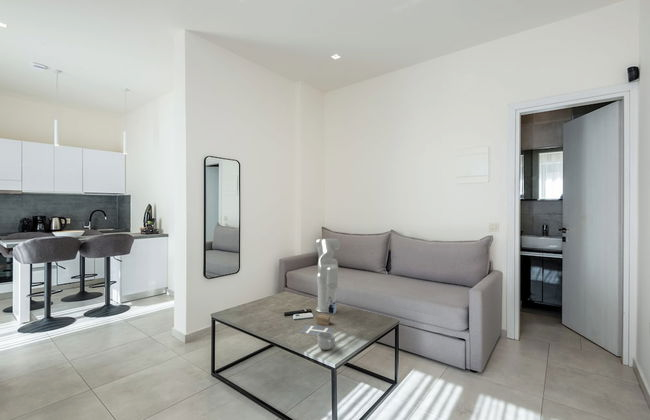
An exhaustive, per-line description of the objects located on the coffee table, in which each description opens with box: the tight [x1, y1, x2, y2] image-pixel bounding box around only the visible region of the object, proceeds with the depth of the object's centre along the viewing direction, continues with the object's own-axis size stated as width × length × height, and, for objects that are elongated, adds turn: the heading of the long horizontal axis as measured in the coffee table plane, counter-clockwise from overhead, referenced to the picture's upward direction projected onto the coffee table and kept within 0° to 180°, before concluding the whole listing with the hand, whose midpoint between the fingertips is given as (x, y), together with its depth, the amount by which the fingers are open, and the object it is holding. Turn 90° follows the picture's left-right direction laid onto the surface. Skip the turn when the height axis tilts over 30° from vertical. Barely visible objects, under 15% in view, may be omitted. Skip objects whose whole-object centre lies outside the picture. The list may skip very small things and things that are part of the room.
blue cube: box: [327, 303, 337, 314], centre depth 212 cm, size 5×5×5 cm
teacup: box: [317, 332, 336, 351], centre depth 189 cm, size 14×11×8 cm
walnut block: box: [316, 314, 331, 326], centre depth 229 cm, size 5×9×5 cm, turn 73°
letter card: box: [299, 324, 335, 336], centre depth 216 cm, size 14×21×1 cm, turn 73°
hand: (331, 311), depth 212 cm, fingers closed on blue cube, 5 cm apart
